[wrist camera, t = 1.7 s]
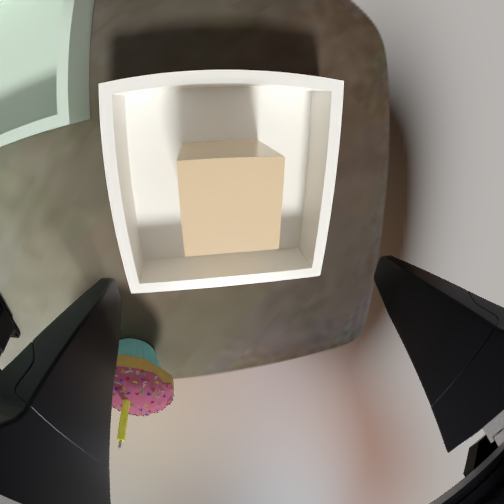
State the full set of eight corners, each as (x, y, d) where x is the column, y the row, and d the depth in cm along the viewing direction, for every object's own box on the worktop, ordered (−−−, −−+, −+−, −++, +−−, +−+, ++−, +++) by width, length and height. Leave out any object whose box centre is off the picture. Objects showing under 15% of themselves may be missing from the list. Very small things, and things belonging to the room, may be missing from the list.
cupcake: (85, 329, 23) (62, 433, 13) (160, 320, 24) (158, 438, 14) (118, 376, 28) (111, 465, 18) (183, 370, 29) (191, 466, 19)
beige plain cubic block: (186, 212, 19) (185, 256, 14) (182, 142, 17) (176, 161, 11) (255, 207, 20) (278, 248, 15) (257, 139, 17) (285, 157, 12)
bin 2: (138, 265, 21) (131, 293, 18) (116, 86, 14) (98, 83, 11) (303, 251, 24) (320, 275, 21) (319, 82, 16) (343, 81, 13)
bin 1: (-33, 161, 12) (-57, 174, 9) (-29, 23, 5) (-51, 21, 2) (90, 119, 15) (69, 124, 12) (103, -42, 7) (90, -61, 4)
